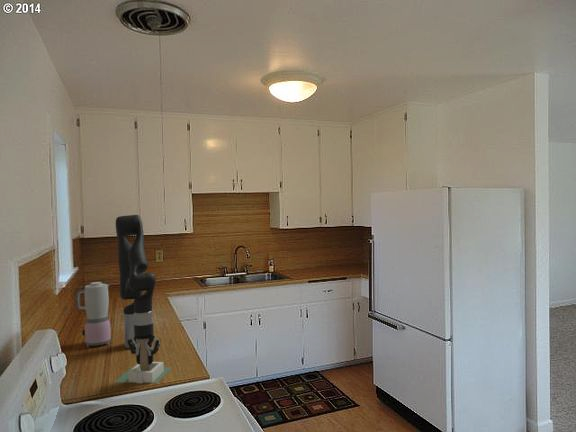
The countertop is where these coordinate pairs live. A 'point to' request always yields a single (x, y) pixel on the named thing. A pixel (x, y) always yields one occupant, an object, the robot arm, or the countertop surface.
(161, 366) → the socket
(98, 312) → the blender
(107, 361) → the countertop surface
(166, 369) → the board
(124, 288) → the robot arm
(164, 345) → the countertop surface
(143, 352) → the handle
